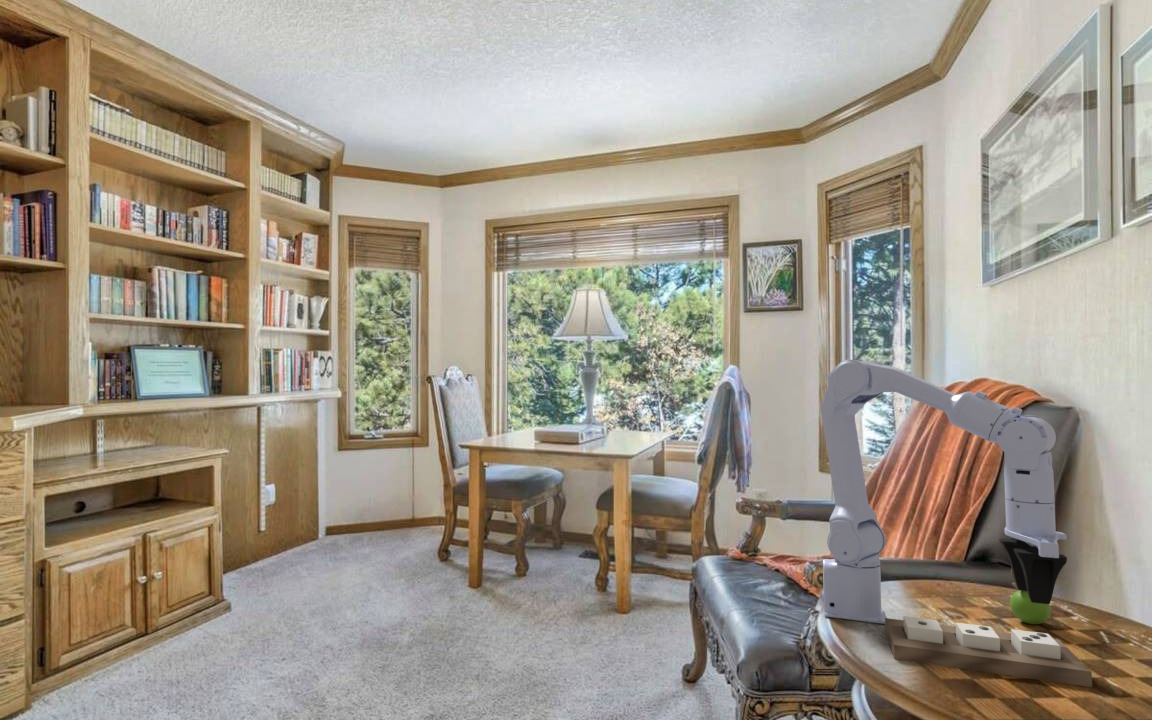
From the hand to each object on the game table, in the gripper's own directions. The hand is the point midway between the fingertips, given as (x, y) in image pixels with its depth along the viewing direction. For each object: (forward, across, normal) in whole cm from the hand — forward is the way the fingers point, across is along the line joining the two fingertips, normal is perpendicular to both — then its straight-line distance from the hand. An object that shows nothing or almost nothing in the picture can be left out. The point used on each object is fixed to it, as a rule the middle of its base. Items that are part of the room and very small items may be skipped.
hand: (1033, 596), depth 85 cm
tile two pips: (+8, 0, +7) cm, 11 cm away
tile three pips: (+8, 0, 0) cm, 8 cm away
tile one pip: (+8, 0, +14) cm, 16 cm away
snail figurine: (+10, +18, -5) cm, 21 cm away
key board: (+9, 0, +7) cm, 12 cm away
